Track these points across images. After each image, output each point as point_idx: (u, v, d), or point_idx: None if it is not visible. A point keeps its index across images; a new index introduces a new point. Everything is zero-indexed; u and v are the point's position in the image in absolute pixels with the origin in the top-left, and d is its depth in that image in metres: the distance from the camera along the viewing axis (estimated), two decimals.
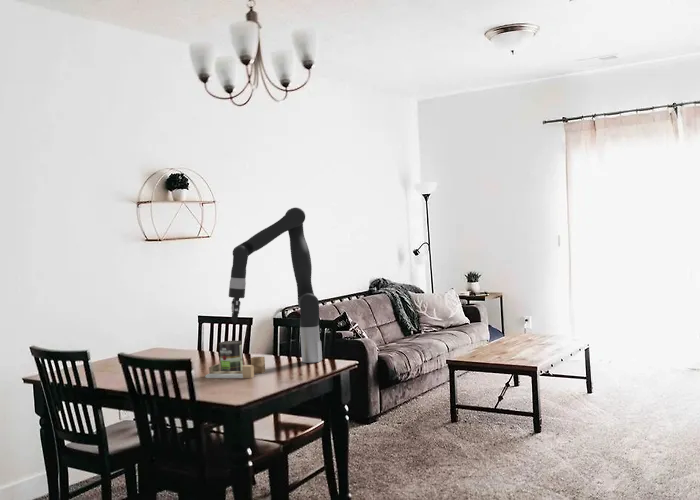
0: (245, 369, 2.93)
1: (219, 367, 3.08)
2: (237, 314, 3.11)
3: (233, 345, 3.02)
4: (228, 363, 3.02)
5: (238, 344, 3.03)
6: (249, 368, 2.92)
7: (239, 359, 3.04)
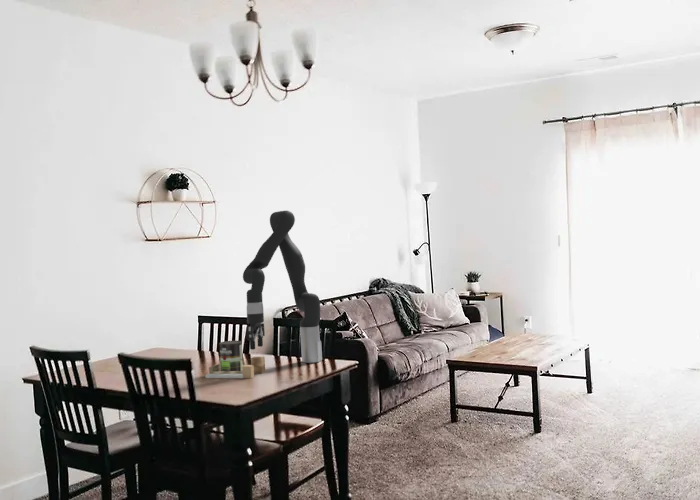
0: (245, 369, 2.93)
1: (219, 367, 3.08)
2: (253, 340, 2.98)
3: (233, 345, 3.02)
4: (228, 363, 3.02)
5: (238, 344, 3.03)
6: (249, 368, 2.92)
7: (239, 359, 3.04)
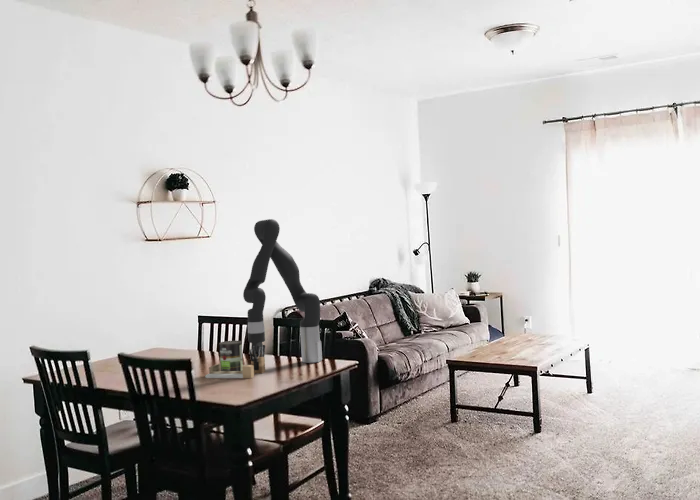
0: (245, 369, 2.93)
1: (219, 367, 3.08)
2: (257, 361, 3.00)
3: (233, 345, 3.02)
4: (228, 363, 3.02)
5: (238, 344, 3.03)
6: (249, 368, 2.92)
7: (239, 359, 3.04)
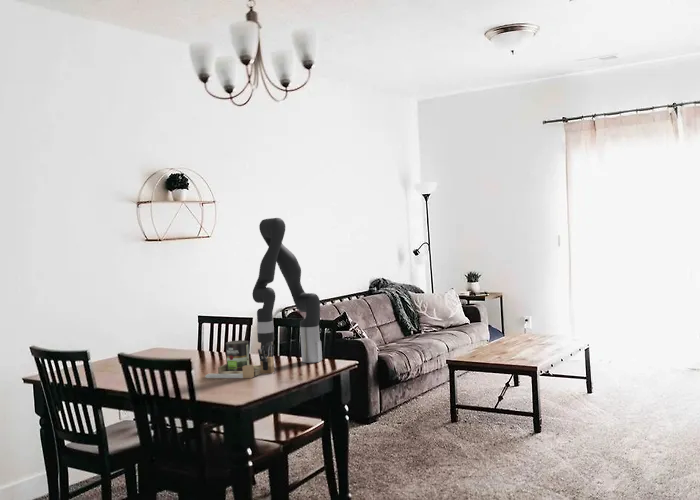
0: (245, 369, 2.93)
1: None
2: (266, 361, 2.99)
3: (240, 345, 3.01)
4: (235, 363, 3.01)
5: (245, 344, 3.03)
6: (249, 368, 2.92)
7: (246, 359, 3.03)
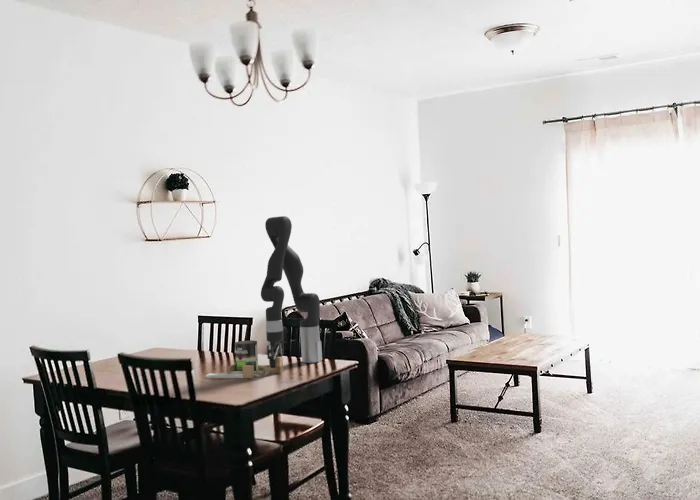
0: (245, 369, 2.93)
1: None
2: (273, 359, 2.96)
3: (249, 345, 3.00)
4: (244, 363, 3.00)
5: (254, 344, 3.02)
6: (249, 368, 2.92)
7: (255, 359, 3.02)
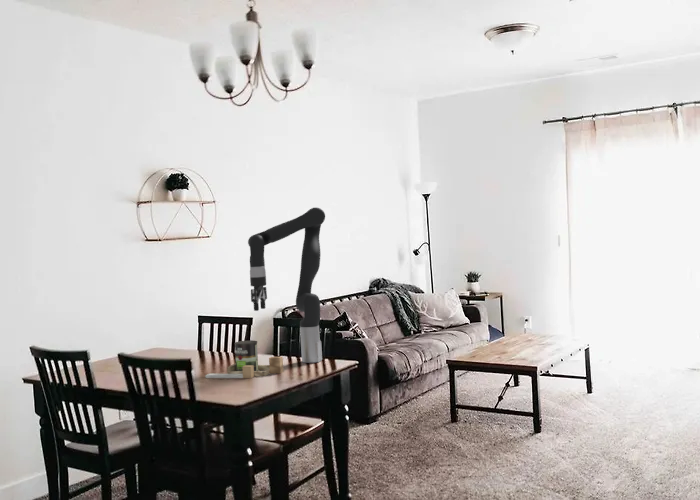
0: (245, 369, 2.93)
1: None
2: (256, 302, 3.16)
3: (249, 345, 3.00)
4: (244, 363, 3.00)
5: (254, 344, 3.02)
6: (249, 368, 2.92)
7: (255, 359, 3.02)
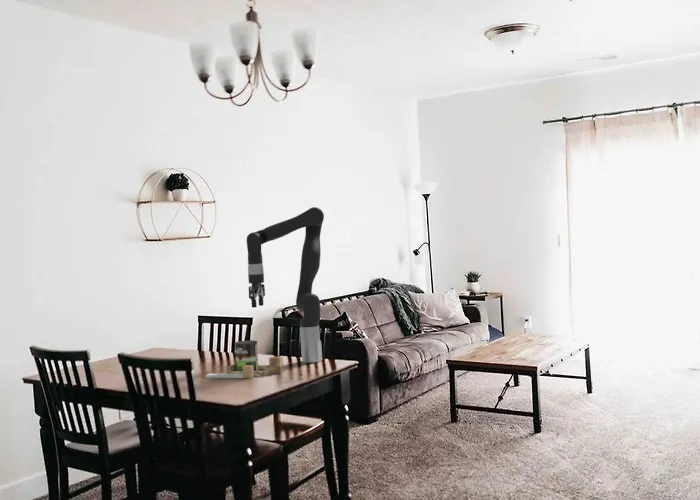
0: (245, 369, 2.93)
1: None
2: (254, 299, 3.20)
3: (249, 345, 3.00)
4: (244, 363, 3.00)
5: (254, 344, 3.02)
6: (249, 368, 2.92)
7: (255, 359, 3.02)
